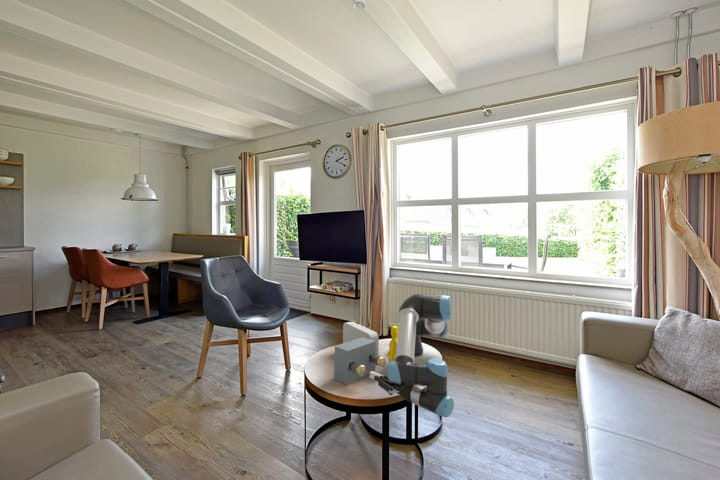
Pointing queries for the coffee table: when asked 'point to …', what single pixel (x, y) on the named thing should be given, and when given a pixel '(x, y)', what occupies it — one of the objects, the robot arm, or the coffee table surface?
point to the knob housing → (353, 359)
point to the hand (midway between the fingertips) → (371, 374)
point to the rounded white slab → (359, 333)
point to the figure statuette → (393, 344)
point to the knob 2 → (377, 360)
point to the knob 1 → (357, 368)
